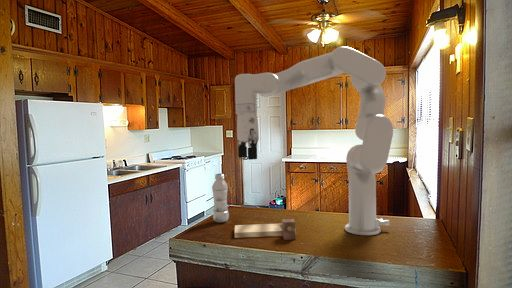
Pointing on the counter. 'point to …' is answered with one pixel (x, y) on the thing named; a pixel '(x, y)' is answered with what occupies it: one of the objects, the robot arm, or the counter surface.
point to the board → (258, 230)
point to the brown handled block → (288, 229)
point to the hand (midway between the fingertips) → (247, 158)
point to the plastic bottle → (220, 199)
